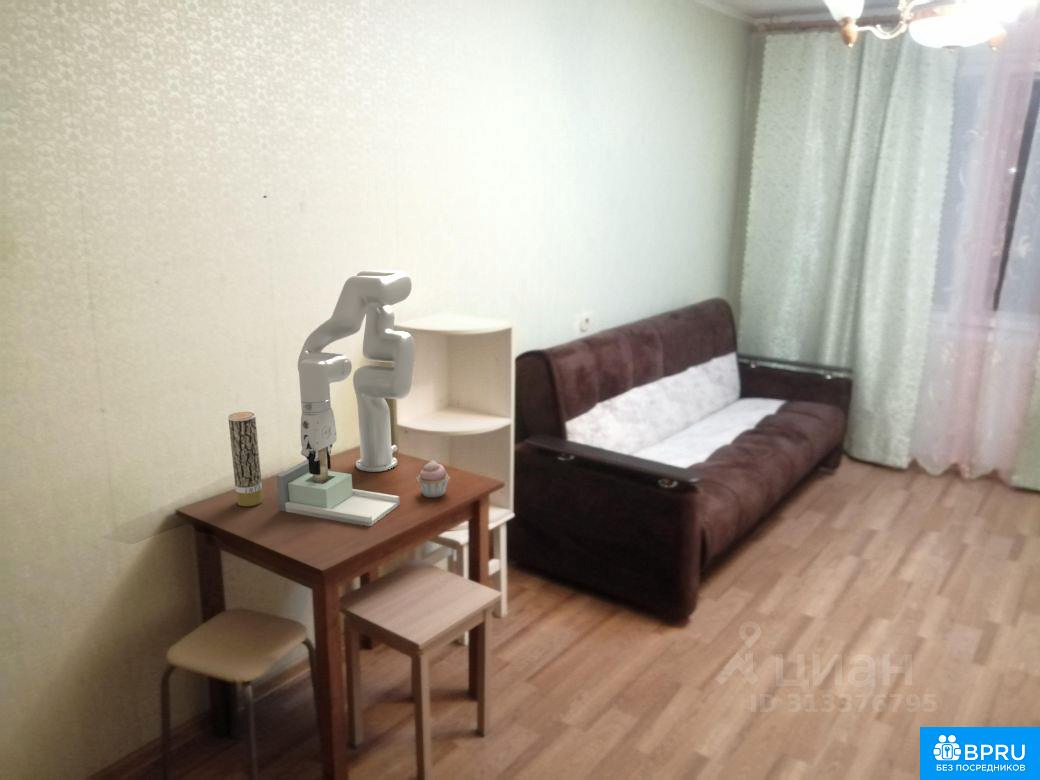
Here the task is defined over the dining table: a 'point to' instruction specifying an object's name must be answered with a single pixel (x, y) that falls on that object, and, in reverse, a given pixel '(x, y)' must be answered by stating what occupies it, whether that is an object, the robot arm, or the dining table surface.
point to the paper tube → (245, 458)
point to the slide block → (321, 490)
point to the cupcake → (433, 480)
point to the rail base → (351, 510)
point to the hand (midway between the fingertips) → (320, 470)
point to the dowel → (322, 467)
